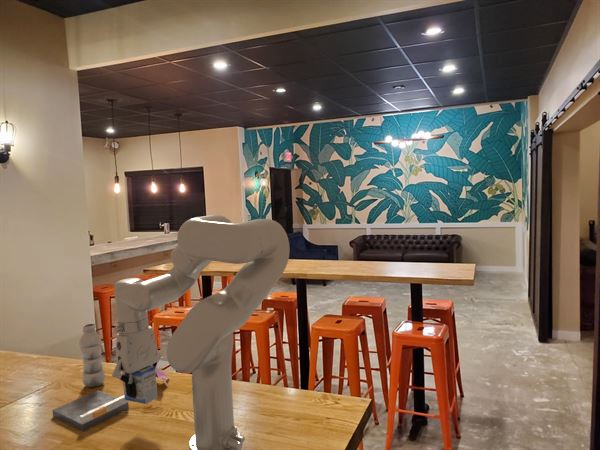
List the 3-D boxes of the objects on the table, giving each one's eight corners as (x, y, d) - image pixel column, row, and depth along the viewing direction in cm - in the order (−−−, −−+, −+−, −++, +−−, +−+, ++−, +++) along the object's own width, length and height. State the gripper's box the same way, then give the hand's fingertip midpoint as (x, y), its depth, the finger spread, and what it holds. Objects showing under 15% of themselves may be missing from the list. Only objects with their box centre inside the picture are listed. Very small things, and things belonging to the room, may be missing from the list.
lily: (156, 400, 141) (170, 370, 143) (123, 383, 143) (137, 354, 145) (170, 394, 153) (183, 366, 154) (139, 378, 155) (152, 351, 156)
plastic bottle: (97, 390, 147) (92, 329, 145) (78, 389, 148) (73, 328, 146) (109, 381, 153) (104, 322, 151) (91, 380, 154) (86, 321, 152)
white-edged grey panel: (129, 409, 134) (128, 395, 134) (83, 432, 122) (82, 417, 122) (98, 396, 143) (97, 383, 142) (53, 416, 131) (51, 403, 131)
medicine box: (124, 400, 124) (120, 368, 123) (137, 392, 128) (133, 362, 127) (145, 404, 120) (142, 372, 119) (158, 397, 124) (155, 365, 123)
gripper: (113, 337, 113) (121, 409, 115) (168, 318, 127) (175, 382, 128) (95, 333, 117) (103, 403, 119) (150, 315, 131) (157, 377, 133)
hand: (140, 391), depth 124 cm, fingers closed on medicine box, 4 cm apart
